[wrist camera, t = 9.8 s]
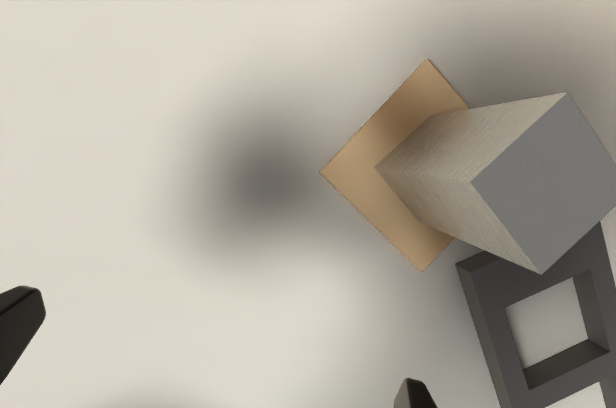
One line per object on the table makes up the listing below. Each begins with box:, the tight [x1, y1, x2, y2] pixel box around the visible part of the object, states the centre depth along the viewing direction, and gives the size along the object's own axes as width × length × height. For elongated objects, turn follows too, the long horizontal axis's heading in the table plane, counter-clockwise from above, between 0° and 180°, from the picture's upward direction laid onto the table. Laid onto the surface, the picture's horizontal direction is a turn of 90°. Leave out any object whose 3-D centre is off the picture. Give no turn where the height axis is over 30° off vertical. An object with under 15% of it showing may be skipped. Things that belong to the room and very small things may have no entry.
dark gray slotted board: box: [455, 221, 616, 408], centre depth 24 cm, size 18×8×2 cm, turn 21°
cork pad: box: [319, 59, 470, 272], centre depth 21 cm, size 8×8×1 cm
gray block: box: [374, 92, 616, 275], centre depth 16 cm, size 4×4×9 cm
